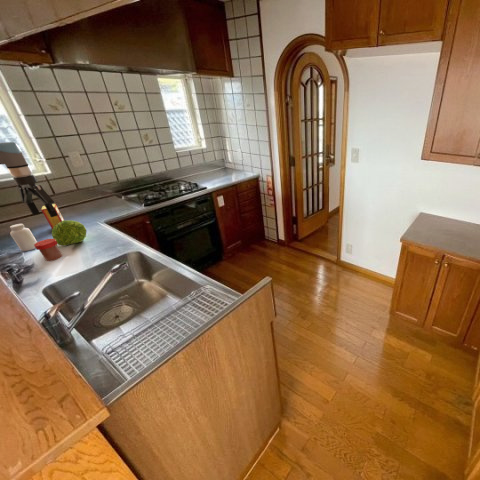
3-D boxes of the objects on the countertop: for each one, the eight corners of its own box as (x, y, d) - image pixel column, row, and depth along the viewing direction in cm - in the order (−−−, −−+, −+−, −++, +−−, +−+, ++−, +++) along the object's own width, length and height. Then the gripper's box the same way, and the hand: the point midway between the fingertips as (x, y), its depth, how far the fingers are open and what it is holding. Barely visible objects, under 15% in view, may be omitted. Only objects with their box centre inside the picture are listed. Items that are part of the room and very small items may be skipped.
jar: (44, 265, 138) (33, 247, 133) (50, 259, 144) (39, 241, 139) (61, 262, 141) (51, 244, 136) (66, 256, 147) (56, 238, 142)
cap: (33, 251, 133) (30, 247, 132) (40, 244, 140) (38, 240, 139) (54, 247, 136) (51, 243, 135) (60, 240, 143) (57, 237, 142)
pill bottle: (36, 244, 161) (22, 221, 154) (42, 246, 158) (28, 223, 151) (18, 249, 155) (3, 227, 148) (24, 252, 152) (9, 229, 145)
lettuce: (61, 244, 167) (93, 239, 176) (51, 248, 147) (87, 242, 155) (54, 222, 165) (87, 217, 173) (42, 222, 144) (80, 218, 153)
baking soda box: (54, 226, 184) (42, 205, 176) (66, 224, 187) (55, 203, 180) (53, 231, 177) (40, 209, 170) (65, 228, 181) (54, 206, 173)
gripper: (49, 174, 129) (70, 214, 139) (15, 172, 136) (37, 211, 146) (31, 178, 123) (54, 219, 133) (-4, 176, 129) (20, 216, 139)
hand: (45, 215), depth 139 cm, fingers open, 13 cm apart
